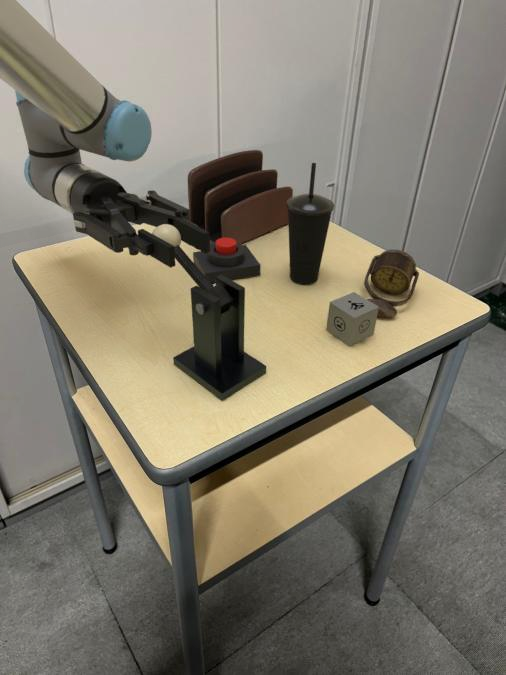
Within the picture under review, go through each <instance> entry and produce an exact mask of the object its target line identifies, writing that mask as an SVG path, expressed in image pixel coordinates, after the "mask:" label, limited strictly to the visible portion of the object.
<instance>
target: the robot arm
mask: <svg viewBox="0 0 506 675" xmlns="http://www.w3.org/2000/svg"><path fill="white" fill-rule="evenodd" d="M0 79H1V80H2V81H3V82H5V84H7V85H8V86H9V87H11V89H13V90H14V94H15V98H16V102H15V104H16V107H17V109H18V113H19V117H20V121H21V125H22V129H23V133H24V136H25V140H26V145H27V150H28V156H27V158H26V159H25V163H24V167H23V174H24V178H25V181H26V183H27V184H28V185H29V187H30V188H31V189H32V190H34V191H35V192H36V193H37V194H38V195H39V196H40V197H41V198H43V199H44V200H46V201H50V202H52V203H53V204H56V205H58V206H59V207H60V208H62V209H64V210H65V211H67V212H69V213H70V214H72V218H73V223H74V229H75V232H77V233H81V234H84V235H87V236H89V237H90V238H92V239H94V240H95V241H97V242H98V243H100V244H101V245H102V246H104V247H106V248H107V249H109V250H110V251H112V252H114V253H116V254H119V253H122V252H124V249H128V254H129V255H130V256H137V255H139V253H140V254H142V255H143V256H146V257H148V256H150V257H152V258H153V259H155V260H157V261H158V262H160V263H162V265H165V266H167V267H169V268H170V269H171V268H173V267H176V259H175V253H174V246H173V245H171V244H170V243H168V242H166V241H164V240H162V239H160V238H159V237H157V236H155V235H153V234H152V233H151V232H149V231H147V230H146V229H144V228H140V229H138V230H136V229H135V228H134V226H133V225H132V224H135V225H138V226H141V225H143V224H145V225H149V226H151V227H155V228H156V227H158V226H160V225H162V224H169V225H172V226H174V227H175V228H176V229H177V230H178V231H179V233H180V236H181V242H183V243H185V244H187V245H189V246H191V247H193V249H194V248H195V249H197V251H202V252H204V253H208V252H210V236H209V232H208V231H206V230H203V229H201V228H199V227H198V226H197V225H196V224H194V223H192V222H190V210H189V208H187V207H185V206H183V205H181V204H178V203H176V202H174V201H173V200H170V199H169V198H165V197H164V196H161V195H159V194H158V192H157V191H156V190H148V191H147V194H146V195H145V196H140V197H139V196H138V195H137V194H135V193H130V192H127V191H126V189H125V188H124V187H123V185H122V184H121V183H120V182H119V181H118V180H116V179H115V178H112V177H111V176H109V175H107V174H104V173H102V172H101V171H99V170H96V169H94V168H92V167H90V166H87V165H86V164H84V163H82V162H83V161H82V156H81V151H84V152H87V153H90V154H95V155H98V156H101V157H105V158H109V159H110V160H113V161H117V160H118V161H123V162H130V163H131V162H135V161H137V160H139V159H141V158H142V157H143V156H144V155H145V154H146V152H147V150H148V148H149V146H150V144H151V142H152V141H151V140H152V135H153V134H152V133H153V132H152V123H151V120H150V117H149V115H148V114H147V111H146V110H145V109H144V108H142V106H140V105H138V104H135V103H131V101H128V100H120V99H118V98H116V97H115V96H114V95H113V94H112V93H111V91H109V90H108V89H107V88H106V87H105V86H104V85H103V84H102V83H101V82H100V81H99V80H98V79H97V78H96V77H95V76H94V75H93V74H92V73H91V72H90V71H88V69H87V68H86V67H84V66H83V64H81V62H79V61H78V60H77V59H76V58H75V57H74V56H73V55H72V54H71V53H70V51H69V50H67V49H66V48H65V46H63V45H62V43H60V42H59V41H58V40H57V39H56V37H54V36H53V35H52V34H51V33H50V32H49V31H48V30H47V29H46V28H45V27H44V26H43V25H42V24H41V22H39V21H38V20H37V19H36V18H35V17H34V16H33V15H32V14H31V13H30V12H29V11H28V10H27V9H26V8H25V7H24V6H23V5H21V3H20V2H19V1H18V0H0ZM80 150H81V151H80Z"/></svg>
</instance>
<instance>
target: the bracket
mask: <svg viewBox="0 0 506 675" xmlns="http://www.w3.org/2000/svg"><path fill="white" fill-rule="evenodd" d="M215 280H216V283H215V286H216V285H218V284H221V285H222V286H223V287H224V288H225V289H226V291H227V292H228V293H229V294H230V295H231V296H232V297H233V299H234V301H233V303H232V305H231V307H230V309H229V311H227V312H225V313H223V314H221V306H220V299H219V298H217V297H215V296H213V295H212V294H210V293H208V292H207V291H205V290H203V289H202V288H200V287H199V286H198V285H194V286H192V287H190V300H191V301H190V302H191V319H192V320H191V321H192V336H193V337H192V338H193V346H192V347H190V348H188V349H186V350H184V351H182V352H180V353H178V354H177V355H175V356H173V357H172V359H173V360H172V361H173V365H174V366H176V368H178V369H179V370H180V371H182V372H184V373H185V374H186V375H187V376H189V377H190V378H191V379H193V380H194V381H195V382H197V383H198V384H199V385H201V387H203V388H204V389H206V390H207V391H208V392H210V393H211V394H212V395H214V397H216V398H218V399H219V400H220V401H224V400H226V399H228V398H229V397H231V396H232V395H234V394H236V393H237V392H238V391H240V390H242V389H244V387H246V386H248V385H249V384H251V383H253V382H254V381H256V380H257V379H259V378H261V377H262V376H263V375H265V374H266V373H267V365H266V364H264V363H263V362H262V361H260V360H258V359H256V358H255V357H253V356H252V355H250V354H248V353H247V352H246V351H245V316H246V314H245V312H246V309H245V308H246V307H245V306H246V304H245V303H246V287H244V286H242V285H241V284H239V283H237V282H236V281H235V280H230V279H228V278H227V277H225V276H223V275H219V276H217V277H215Z"/></svg>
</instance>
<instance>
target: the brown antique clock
mask: <svg viewBox="0 0 506 675" xmlns="http://www.w3.org/2000/svg"><path fill="white" fill-rule="evenodd" d="M416 264H417V263H416V261H415V260H414V258H413V256H412V255H411V254H409V253H408V252H406V251H405V250H404V251H403V250H400V249H387V250H384V251H383V252H381V253H380V254H377V255H374V256H373V258H372V259H371V262H370V264H369V266H368V269H367V271H366V274H365V277H364V283H363V284H364V287H365V288H364V289H365V290H366V292H367V293H368V295H369V296H370V298H366V299H367V300H368V301H370V302H372V303H373V304H375V305H377V306H379V309H378V314H377V317H382V318H394V317H396V316H398V310H397V308H398V307H402V306H403V305H406V304H407V303H409V301H411V299H412V297H413V295H414V292H415V289H416V285H417V283H418V280H419V276H420V272H419V271H418V270H417V265H416ZM413 277H414V278H413ZM369 278H370V281H371V284H372V285H373V287H374V288H375V289H376V290H377V291H379V292H381V293H383V294H386V295H389V296H399V295H402V294H404V293H405V292H407V291H408V290H409V288H410V290H409V294H408V296H407V298H405V299H403V300H399V301H395V300H388V299H385V298H383V297H381V296H380V295H378V294H376V293H375V292H374V291H373V289H372V288H371V285H370V283H369ZM410 286H411V287H410Z"/></svg>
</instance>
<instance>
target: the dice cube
mask: <svg viewBox="0 0 506 675" xmlns="http://www.w3.org/2000/svg"><path fill="white" fill-rule="evenodd" d="M367 299H368V298H365V297H363V296H362V295H360V294H358V293H357V292H355V291H353V292H349V293H347V294H345V295H343V296H340V297H338V298H335V299H334V300H331V301H329V303H328V312H327V318H326V319H327V320H326V326H325V329H326V330H325V331H327V332H328V333H330V334H331V335H332V336H334V337H335V338H337V339H338V340H339V341H341V342H343V343H344V344H345V345H347V346H348V347H352V346H353V345H356V344H358V343H360V342H362V341H364V340H366V339H367V338H370V337H372V336H373V335H375V328H376V323H377V319H378V315H377V314H378V309H379V306H377V305H375V304H373V303H372V302H370V301H368V300H367Z"/></svg>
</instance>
